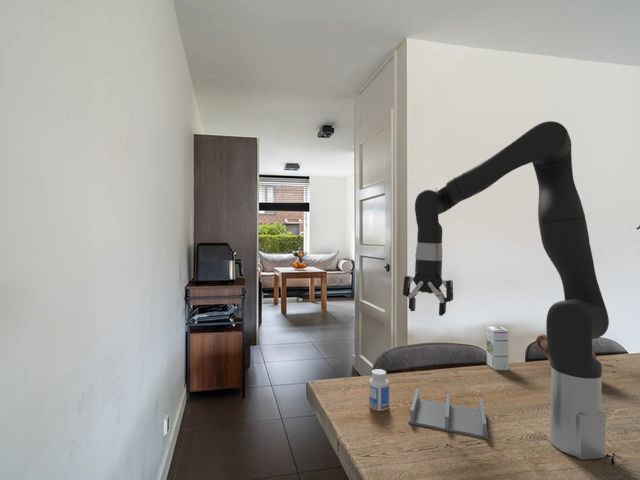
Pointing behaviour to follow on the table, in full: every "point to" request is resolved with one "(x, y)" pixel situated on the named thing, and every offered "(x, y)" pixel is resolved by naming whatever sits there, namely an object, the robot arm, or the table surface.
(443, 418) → the dish rack
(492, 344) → the syrup box
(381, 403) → the pill bottle
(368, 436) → the table surface
